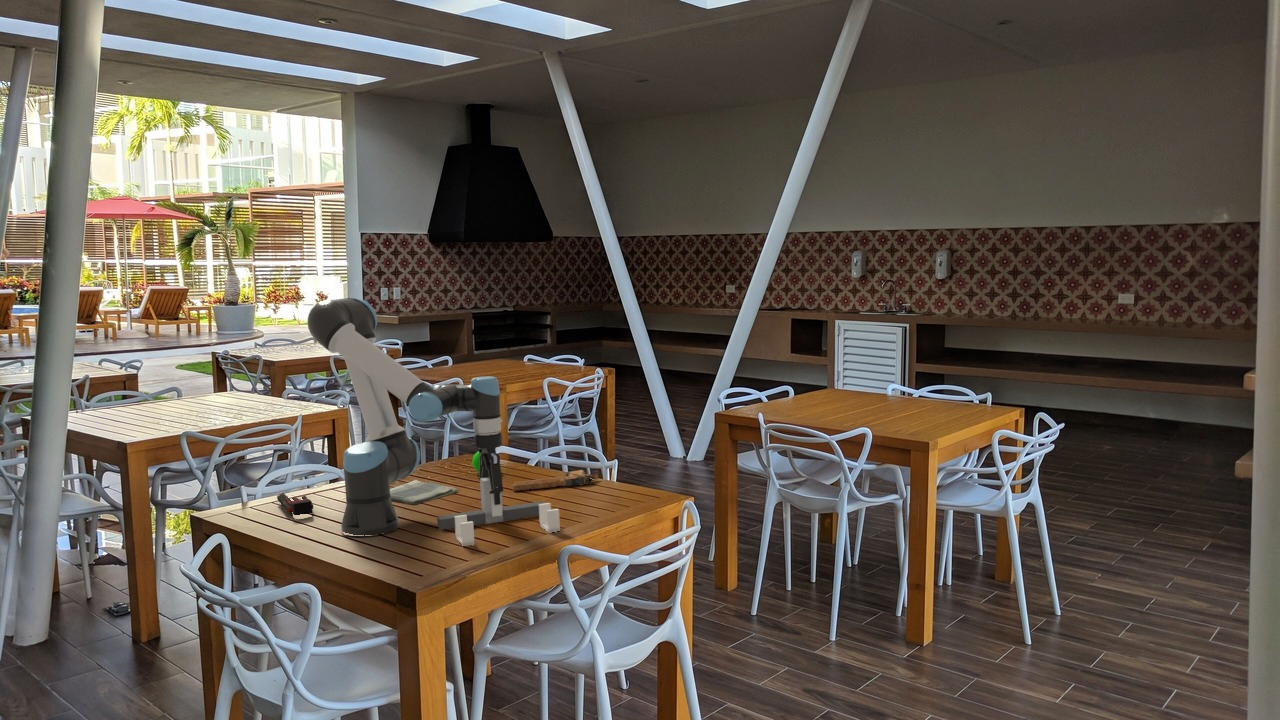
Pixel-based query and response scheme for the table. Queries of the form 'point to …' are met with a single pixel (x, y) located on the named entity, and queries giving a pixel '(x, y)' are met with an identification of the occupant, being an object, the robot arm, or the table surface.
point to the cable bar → (490, 510)
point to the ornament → (476, 461)
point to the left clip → (464, 530)
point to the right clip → (549, 518)
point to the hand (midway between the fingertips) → (492, 511)
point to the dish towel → (419, 492)
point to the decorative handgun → (556, 481)
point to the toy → (296, 504)
